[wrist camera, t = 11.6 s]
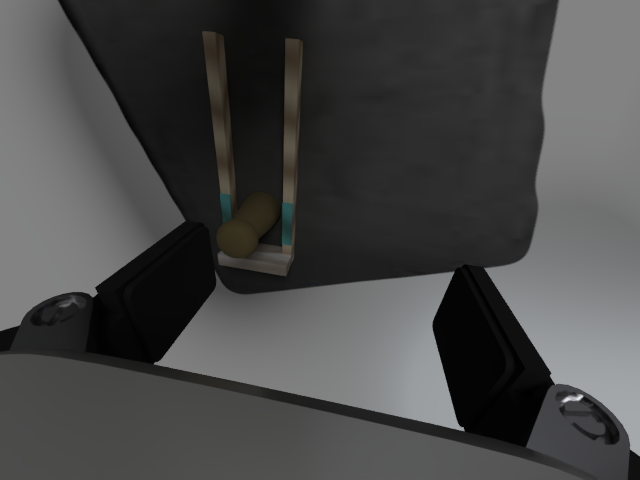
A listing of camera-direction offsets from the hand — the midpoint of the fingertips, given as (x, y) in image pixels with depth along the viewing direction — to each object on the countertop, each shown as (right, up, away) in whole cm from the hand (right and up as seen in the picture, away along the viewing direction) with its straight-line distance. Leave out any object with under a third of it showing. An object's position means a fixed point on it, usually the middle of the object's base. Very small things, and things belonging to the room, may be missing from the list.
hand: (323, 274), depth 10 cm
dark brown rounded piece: (-9, +6, +31) cm, 33 cm away
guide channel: (-9, +12, +28) cm, 32 cm away
